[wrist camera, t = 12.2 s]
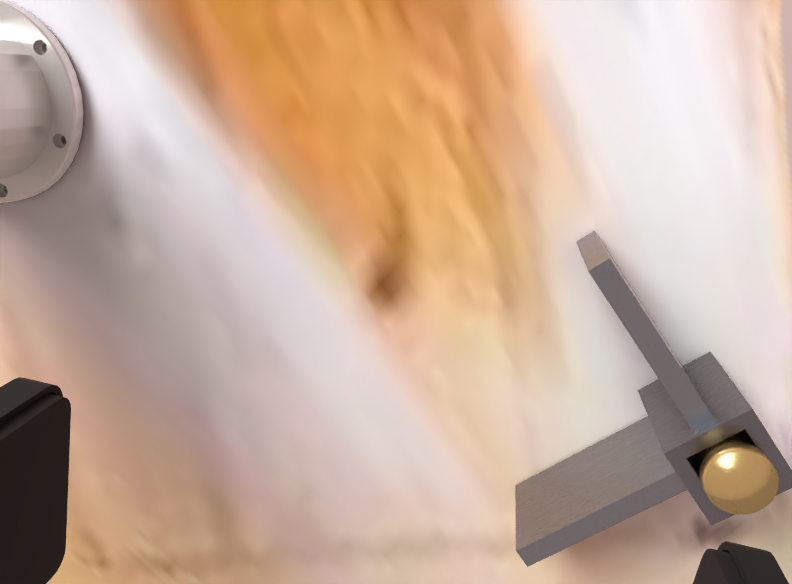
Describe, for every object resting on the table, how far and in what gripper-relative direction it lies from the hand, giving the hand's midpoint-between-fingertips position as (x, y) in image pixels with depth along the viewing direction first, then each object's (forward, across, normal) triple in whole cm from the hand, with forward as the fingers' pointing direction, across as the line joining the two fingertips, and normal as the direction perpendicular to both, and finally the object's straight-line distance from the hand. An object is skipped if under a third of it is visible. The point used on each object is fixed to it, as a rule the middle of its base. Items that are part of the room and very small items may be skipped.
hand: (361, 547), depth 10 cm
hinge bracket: (+34, -9, +10) cm, 37 cm away
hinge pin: (+34, -16, +10) cm, 39 cm away
